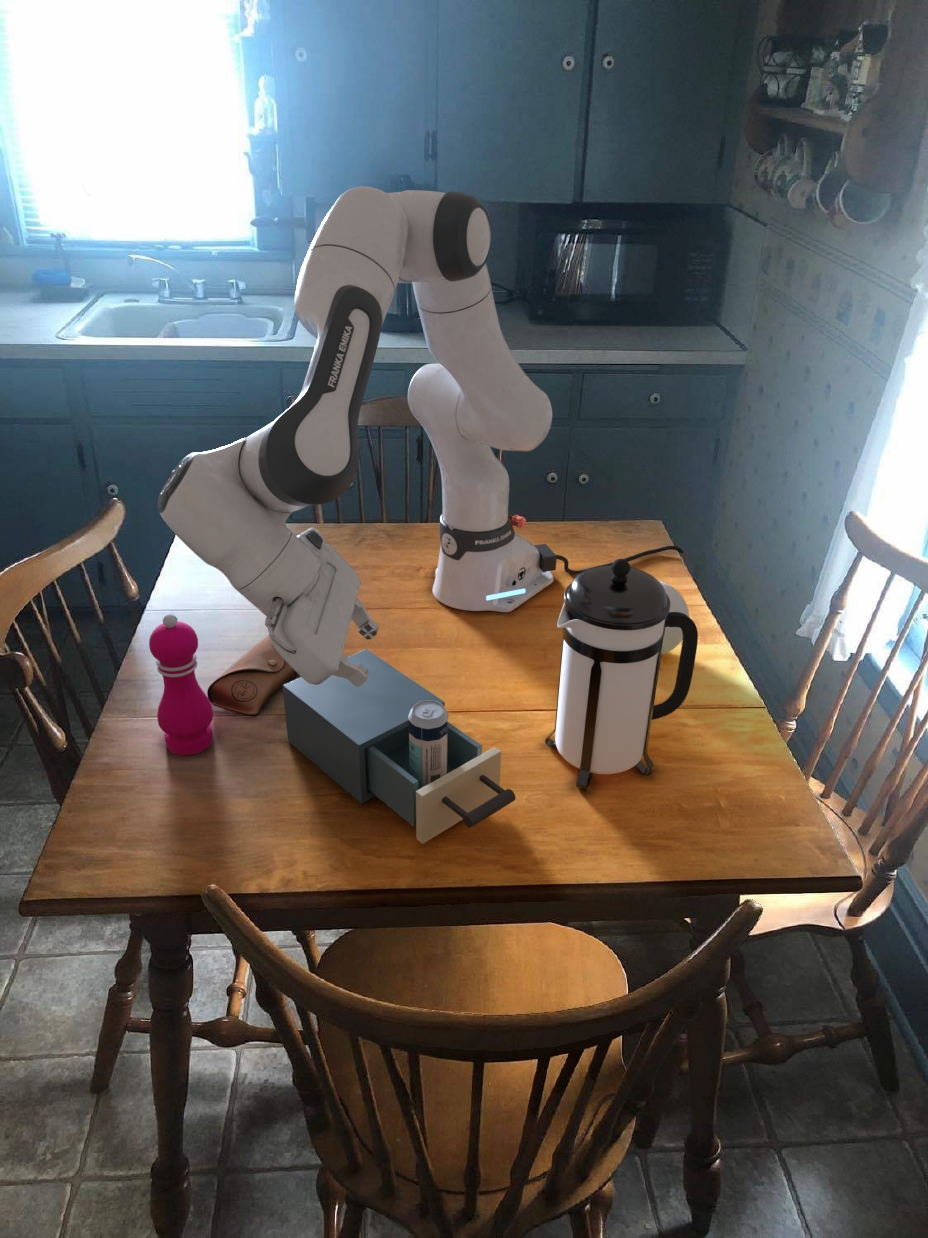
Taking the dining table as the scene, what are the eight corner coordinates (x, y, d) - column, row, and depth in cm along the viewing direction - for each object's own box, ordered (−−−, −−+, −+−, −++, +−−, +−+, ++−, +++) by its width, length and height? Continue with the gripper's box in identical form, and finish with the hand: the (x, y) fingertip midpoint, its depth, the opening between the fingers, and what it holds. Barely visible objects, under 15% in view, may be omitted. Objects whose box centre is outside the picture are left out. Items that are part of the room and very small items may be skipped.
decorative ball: (608, 627, 157) (615, 563, 151) (681, 634, 155) (692, 570, 149) (606, 667, 147) (614, 600, 141) (685, 674, 145) (696, 607, 139)
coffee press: (638, 812, 118) (670, 604, 103) (524, 770, 125) (538, 569, 110) (682, 739, 132) (716, 544, 116) (576, 704, 138) (595, 516, 123)
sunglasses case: (258, 715, 133) (233, 676, 131) (224, 725, 137) (199, 687, 135) (320, 652, 148) (299, 616, 146) (289, 663, 151) (267, 628, 150)
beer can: (452, 779, 120) (454, 702, 114) (439, 803, 116) (440, 725, 110) (417, 771, 121) (416, 694, 115) (403, 794, 117) (402, 716, 111)
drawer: (530, 820, 116) (533, 773, 112) (452, 870, 108) (453, 821, 104) (419, 739, 129) (419, 694, 125) (344, 778, 121) (341, 732, 118)
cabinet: (444, 758, 127) (445, 701, 122) (361, 804, 119) (358, 745, 114) (368, 702, 137) (366, 648, 133) (287, 741, 129) (282, 685, 125)
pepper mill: (167, 726, 132) (145, 601, 122) (220, 724, 132) (202, 599, 122) (157, 759, 126) (133, 630, 115) (213, 757, 126) (193, 629, 116)
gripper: (282, 612, 96) (377, 696, 101) (317, 520, 113) (397, 596, 118) (241, 645, 98) (336, 725, 103) (281, 550, 115) (361, 623, 120)
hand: (369, 656), depth 111 cm, fingers open, 8 cm apart
